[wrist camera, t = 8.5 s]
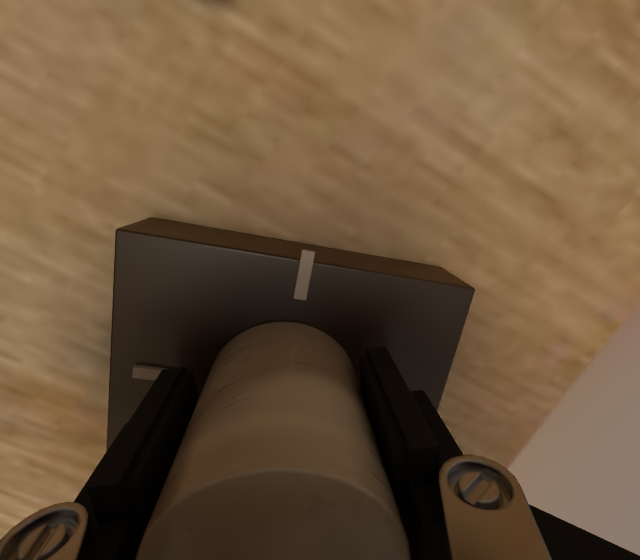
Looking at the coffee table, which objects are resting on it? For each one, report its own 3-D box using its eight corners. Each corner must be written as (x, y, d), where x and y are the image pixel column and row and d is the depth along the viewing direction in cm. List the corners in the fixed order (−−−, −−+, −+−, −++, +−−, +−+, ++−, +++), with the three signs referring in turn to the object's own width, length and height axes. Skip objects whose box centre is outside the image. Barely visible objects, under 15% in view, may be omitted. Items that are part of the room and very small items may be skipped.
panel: (444, 259, 13) (482, 280, 11) (388, 459, 15) (407, 516, 13) (150, 207, 12) (112, 217, 9) (135, 433, 14) (101, 491, 12)
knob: (270, 290, 10) (247, 431, 5) (385, 377, 11) (476, 575, 6) (178, 400, 11) (63, 633, 5) (293, 472, 12) (295, 729, 7)
